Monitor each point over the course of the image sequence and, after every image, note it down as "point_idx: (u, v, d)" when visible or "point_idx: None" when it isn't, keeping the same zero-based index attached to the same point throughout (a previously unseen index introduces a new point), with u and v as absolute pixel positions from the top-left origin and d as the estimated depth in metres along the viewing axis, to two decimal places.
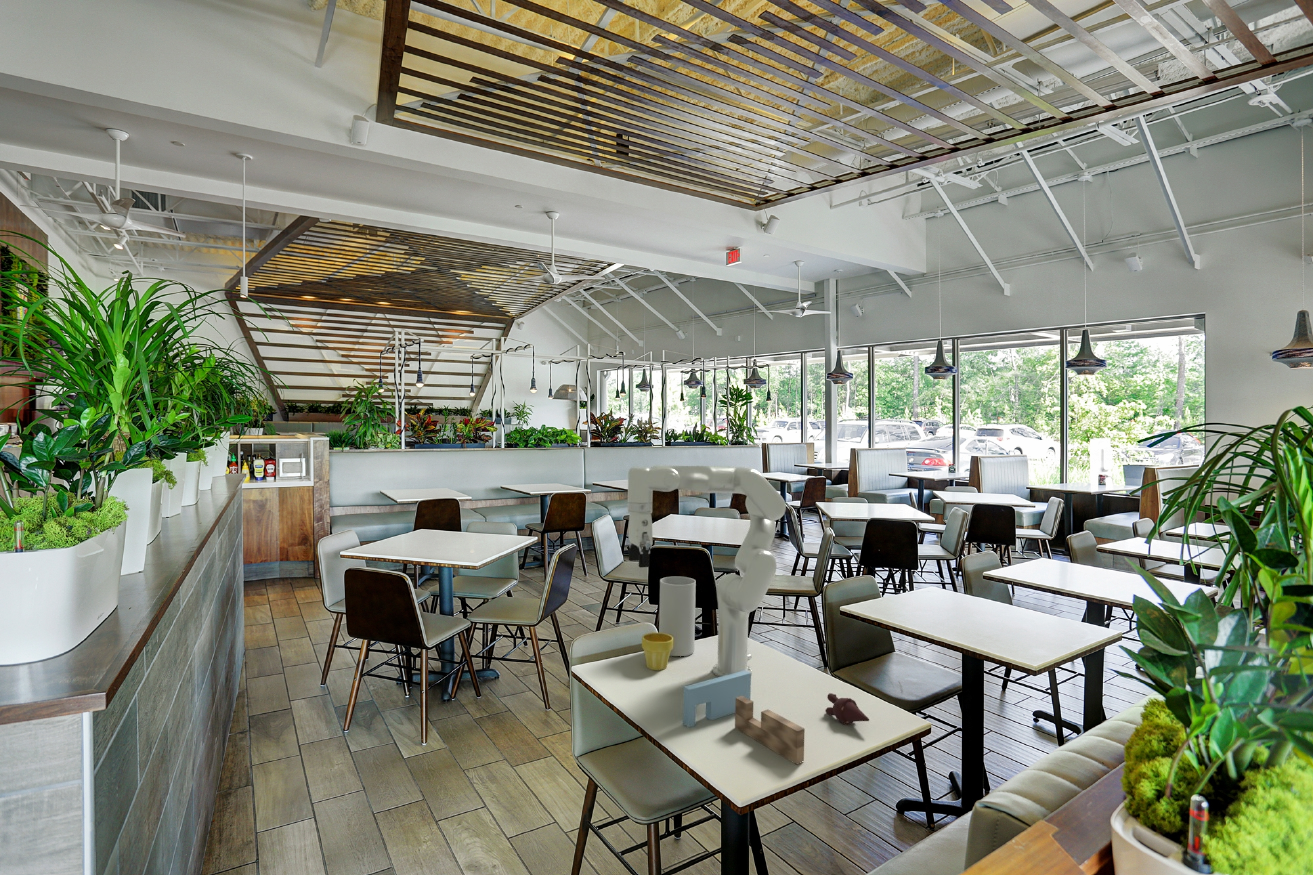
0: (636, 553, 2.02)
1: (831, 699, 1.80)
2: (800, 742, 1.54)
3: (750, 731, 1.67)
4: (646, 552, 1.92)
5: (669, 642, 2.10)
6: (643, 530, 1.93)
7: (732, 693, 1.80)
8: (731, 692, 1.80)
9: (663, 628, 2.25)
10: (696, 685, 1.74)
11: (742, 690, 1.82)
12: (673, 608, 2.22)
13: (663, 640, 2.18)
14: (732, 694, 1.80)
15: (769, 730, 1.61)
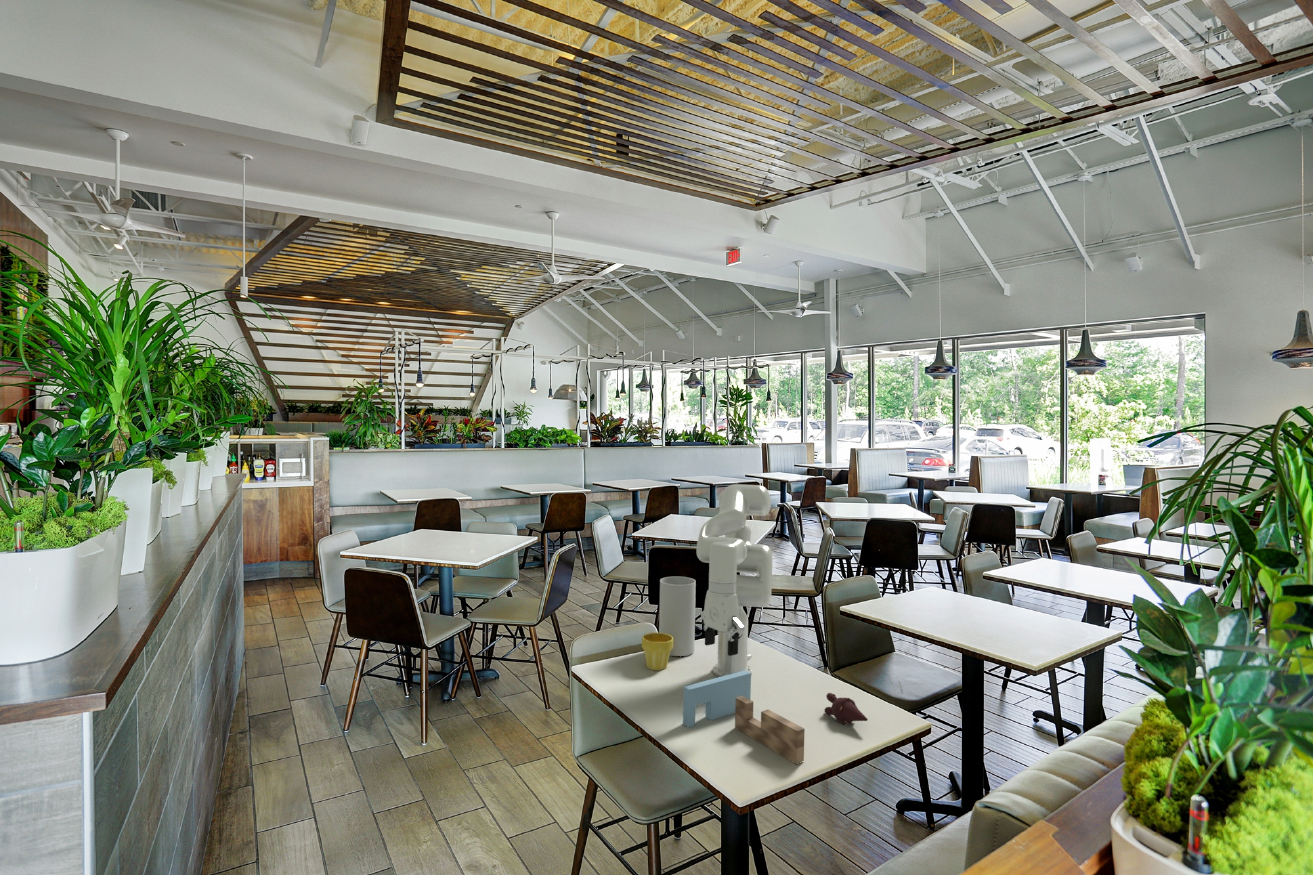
0: None
1: (830, 699, 1.80)
2: (800, 742, 1.54)
3: (750, 731, 1.67)
4: None
5: (669, 642, 2.10)
6: None
7: (732, 693, 1.80)
8: (731, 692, 1.80)
9: (663, 628, 2.25)
10: (696, 685, 1.74)
11: (742, 690, 1.82)
12: (673, 608, 2.22)
13: (663, 640, 2.18)
14: (732, 694, 1.80)
15: (769, 730, 1.61)
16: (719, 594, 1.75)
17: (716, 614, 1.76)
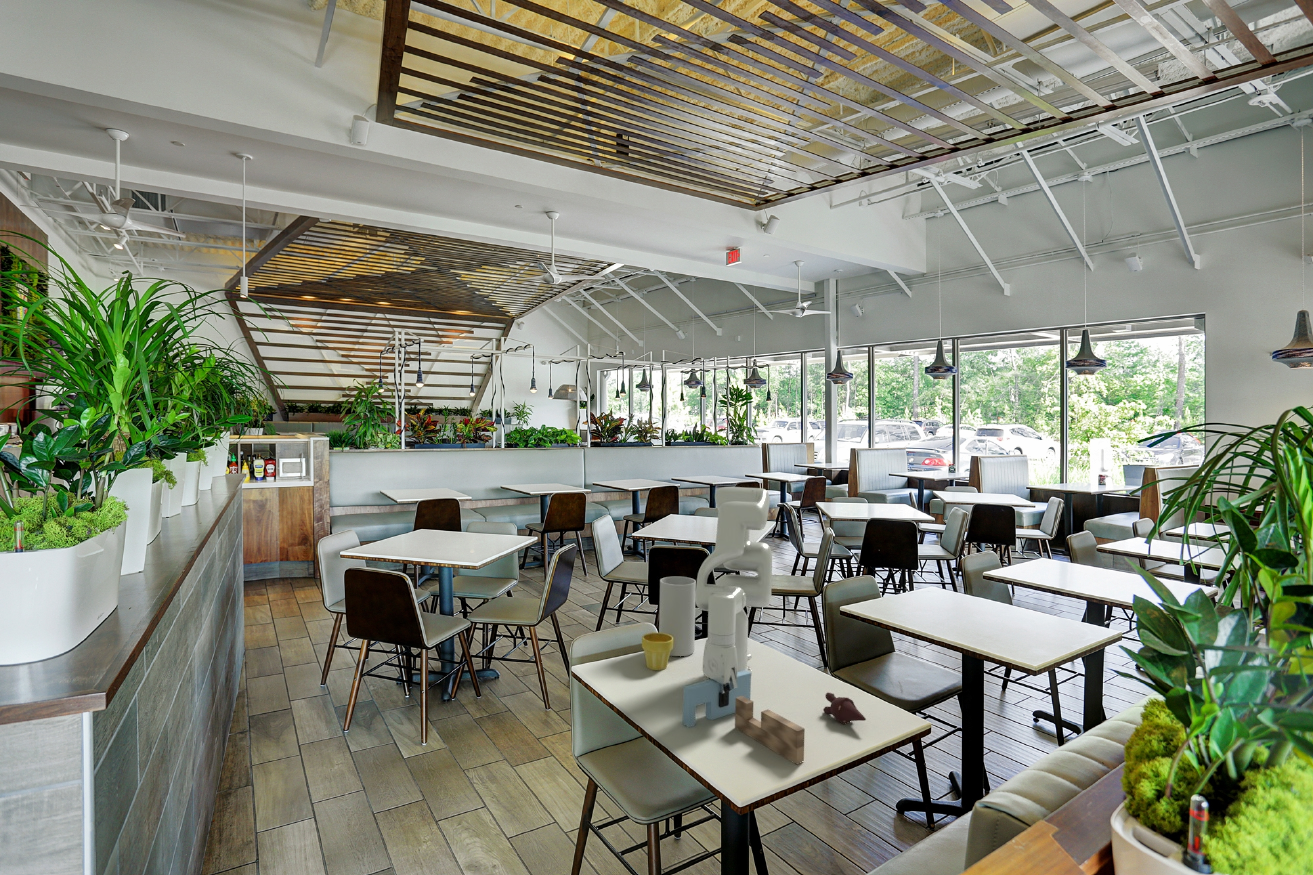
0: None
1: (829, 698, 1.81)
2: (800, 742, 1.54)
3: (750, 731, 1.67)
4: None
5: (669, 642, 2.10)
6: None
7: (732, 693, 1.80)
8: (731, 692, 1.80)
9: (663, 628, 2.25)
10: (696, 685, 1.74)
11: (742, 690, 1.82)
12: (673, 608, 2.22)
13: (663, 640, 2.18)
14: (732, 694, 1.80)
15: (769, 730, 1.61)
16: (718, 646, 1.75)
17: (715, 665, 1.77)
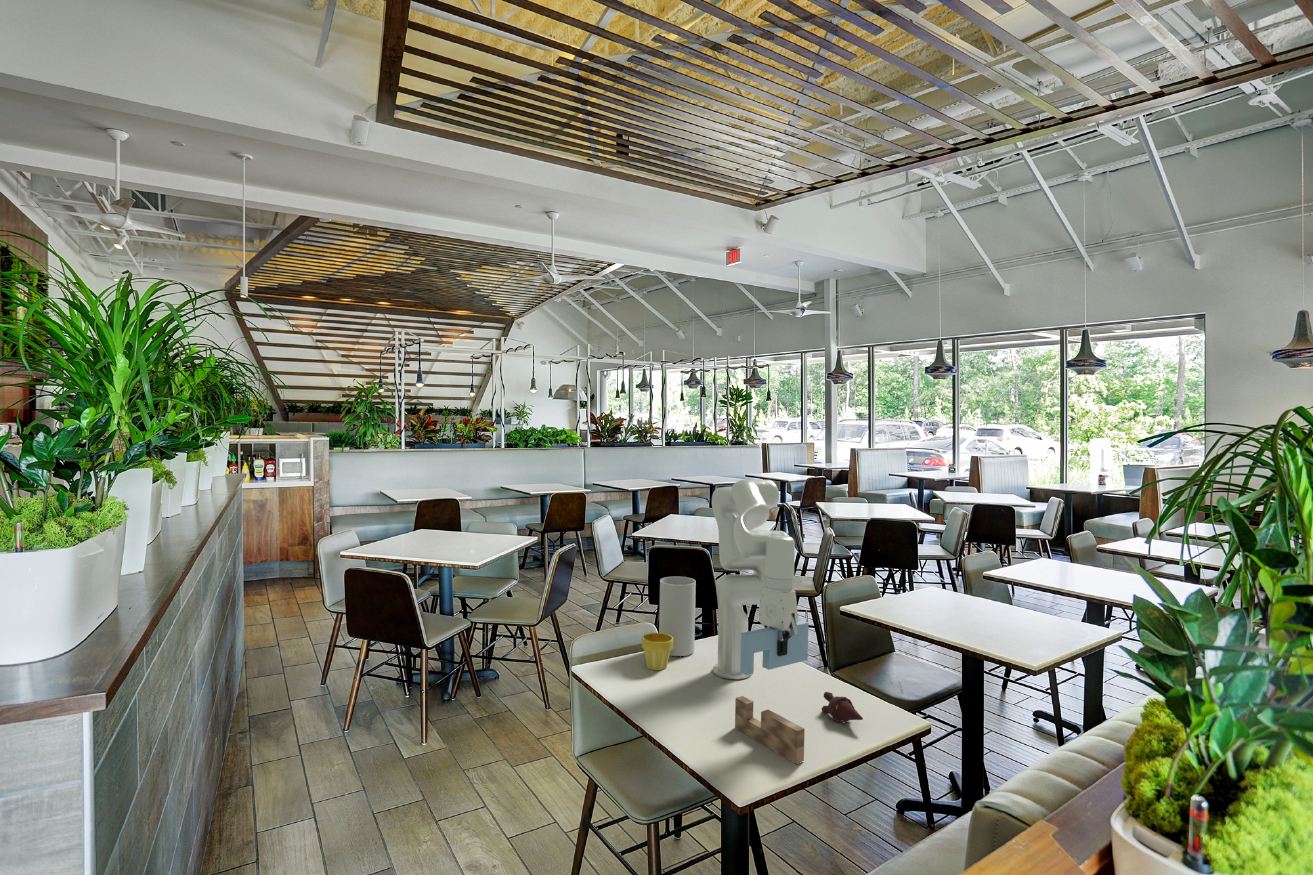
0: None
1: (827, 697, 1.81)
2: (800, 742, 1.54)
3: (750, 731, 1.67)
4: None
5: (669, 642, 2.10)
6: None
7: (790, 643, 1.71)
8: (789, 641, 1.70)
9: (663, 628, 2.25)
10: (754, 632, 1.65)
11: (800, 640, 1.73)
12: (673, 608, 2.22)
13: (663, 640, 2.18)
14: (790, 644, 1.71)
15: (769, 730, 1.61)
16: (777, 590, 1.66)
17: (773, 611, 1.67)
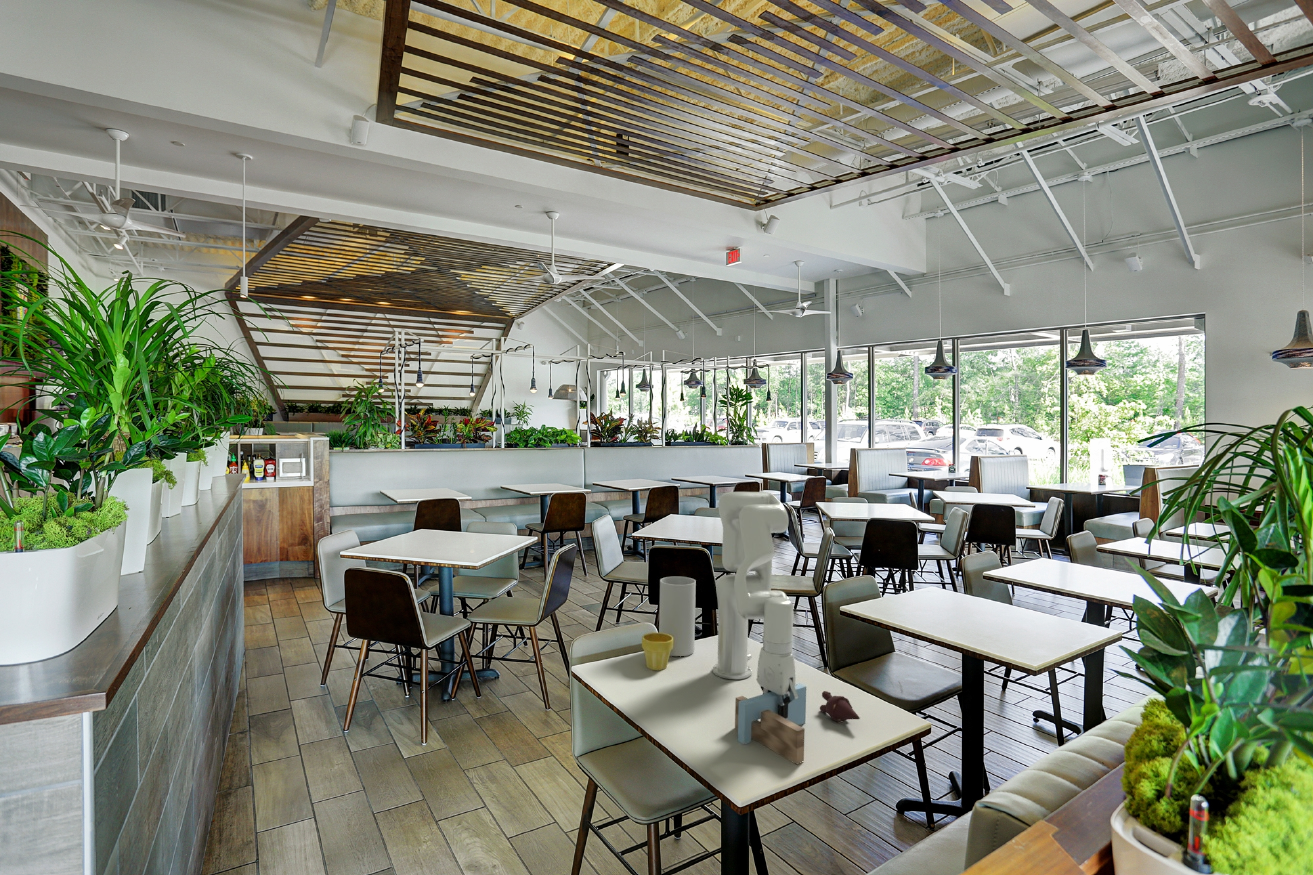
0: None
1: (825, 697, 1.82)
2: (800, 742, 1.54)
3: None
4: None
5: (669, 642, 2.10)
6: None
7: None
8: None
9: (663, 628, 2.25)
10: (751, 700, 1.66)
11: (798, 705, 1.74)
12: (673, 608, 2.22)
13: (663, 640, 2.18)
14: None
15: (769, 730, 1.61)
16: (775, 654, 1.67)
17: (772, 675, 1.68)
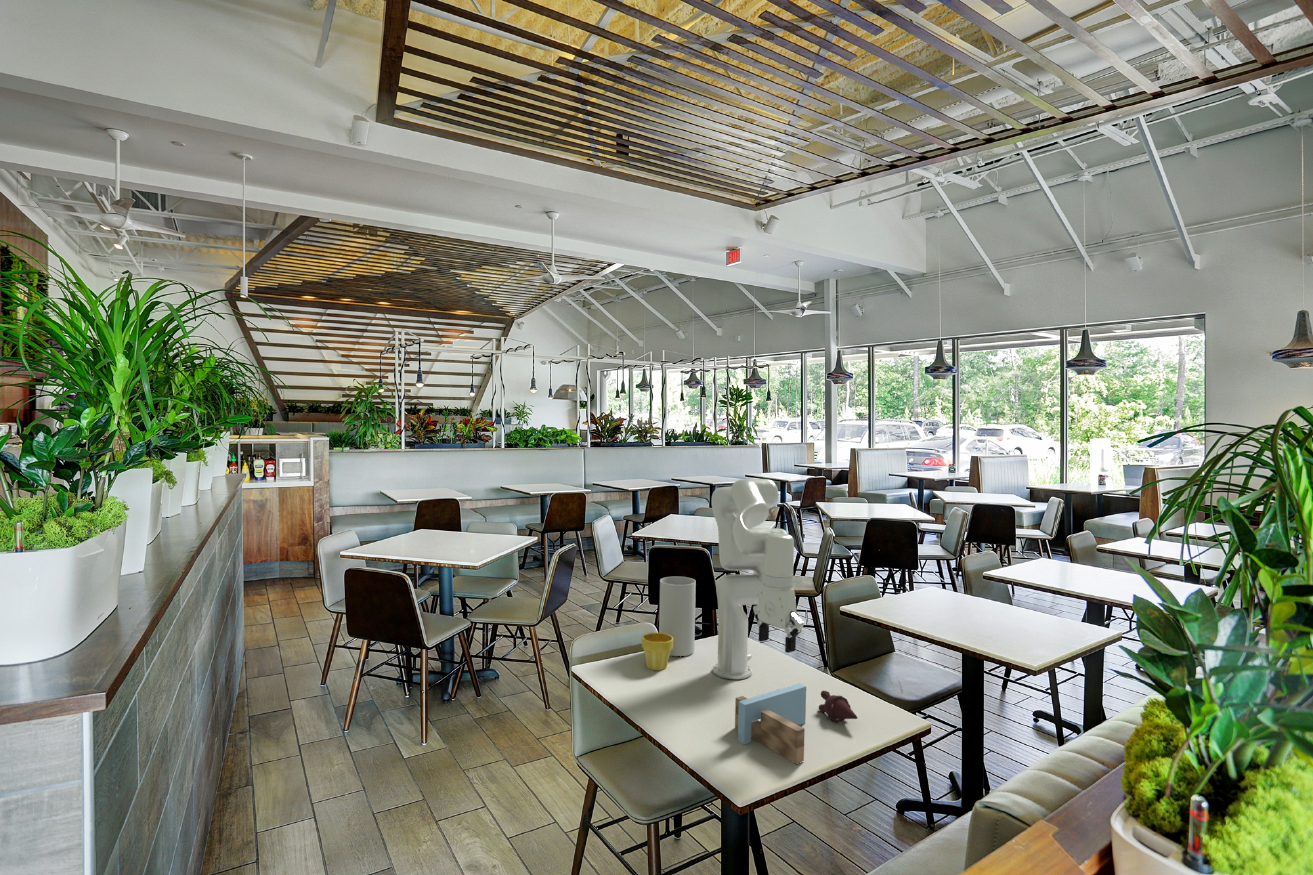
0: None
1: (824, 696, 1.82)
2: (800, 742, 1.54)
3: None
4: None
5: (669, 642, 2.10)
6: None
7: (787, 708, 1.71)
8: (786, 707, 1.71)
9: (663, 628, 2.25)
10: (751, 700, 1.66)
11: (798, 704, 1.74)
12: (673, 608, 2.22)
13: (663, 640, 2.18)
14: (787, 709, 1.71)
15: (769, 730, 1.61)
16: (776, 588, 1.66)
17: (772, 609, 1.68)
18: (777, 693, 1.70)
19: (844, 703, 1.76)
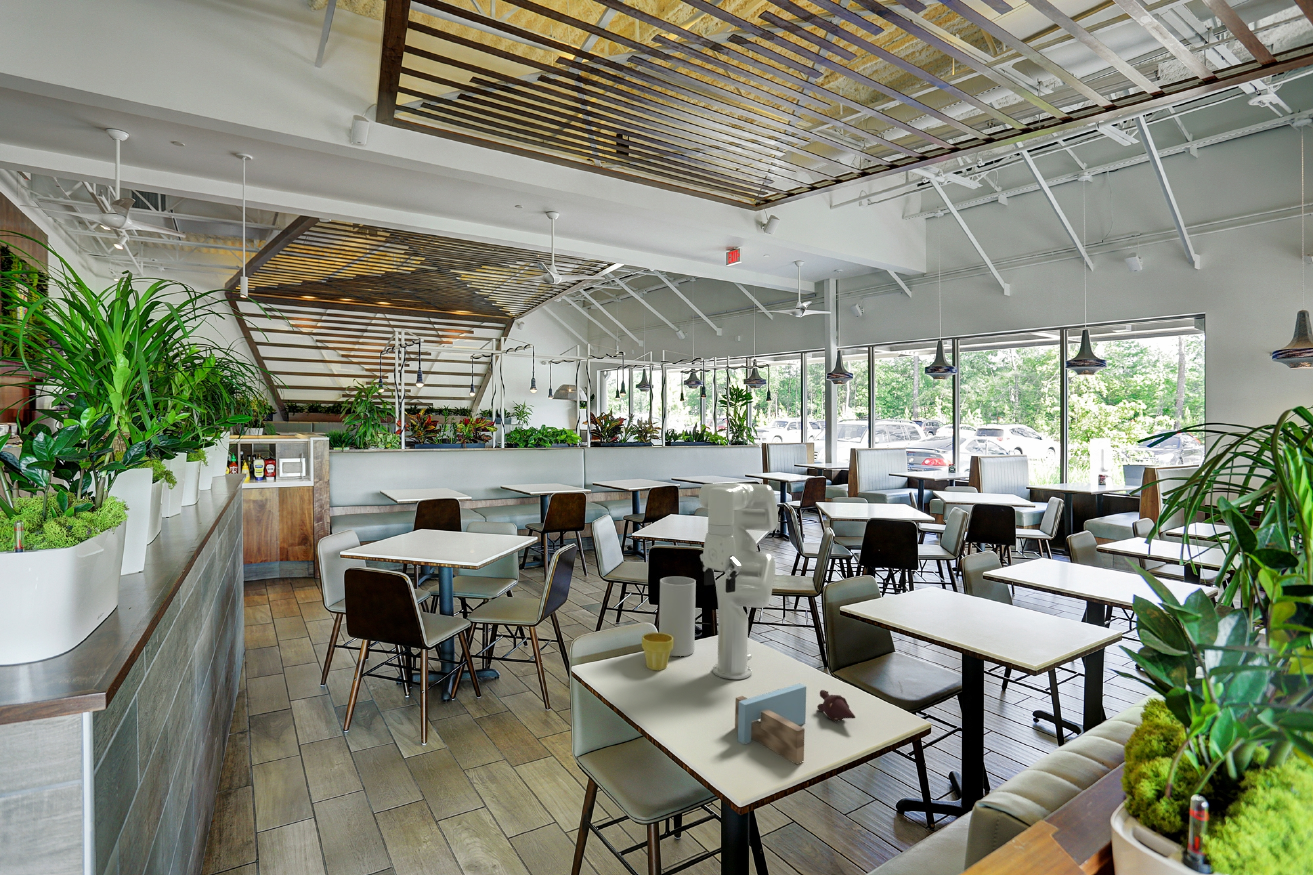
0: None
1: (822, 696, 1.82)
2: (800, 742, 1.54)
3: None
4: None
5: (669, 642, 2.10)
6: None
7: (787, 708, 1.71)
8: (787, 707, 1.71)
9: (663, 628, 2.25)
10: (751, 700, 1.66)
11: (798, 705, 1.74)
12: (673, 608, 2.22)
13: (663, 640, 2.18)
14: (787, 709, 1.71)
15: (769, 730, 1.61)
16: (717, 535, 1.86)
17: (715, 554, 1.87)
18: (777, 693, 1.70)
19: (842, 703, 1.76)
